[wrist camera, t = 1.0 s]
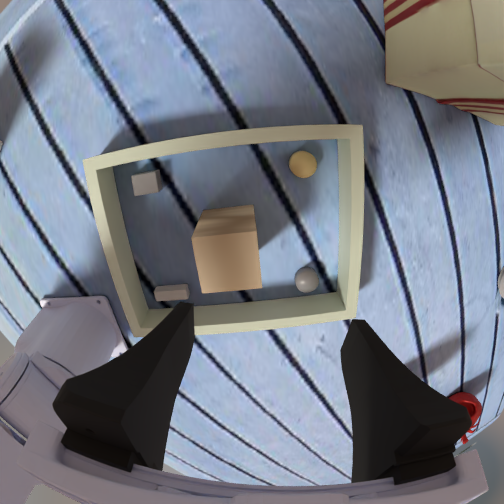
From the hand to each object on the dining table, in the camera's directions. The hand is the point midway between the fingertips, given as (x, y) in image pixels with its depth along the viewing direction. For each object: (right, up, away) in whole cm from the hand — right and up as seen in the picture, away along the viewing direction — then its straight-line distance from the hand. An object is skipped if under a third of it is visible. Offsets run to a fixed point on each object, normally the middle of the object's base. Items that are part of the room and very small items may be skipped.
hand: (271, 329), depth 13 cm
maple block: (-3, +5, +11) cm, 13 cm away
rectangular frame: (-3, +5, +11) cm, 13 cm away
